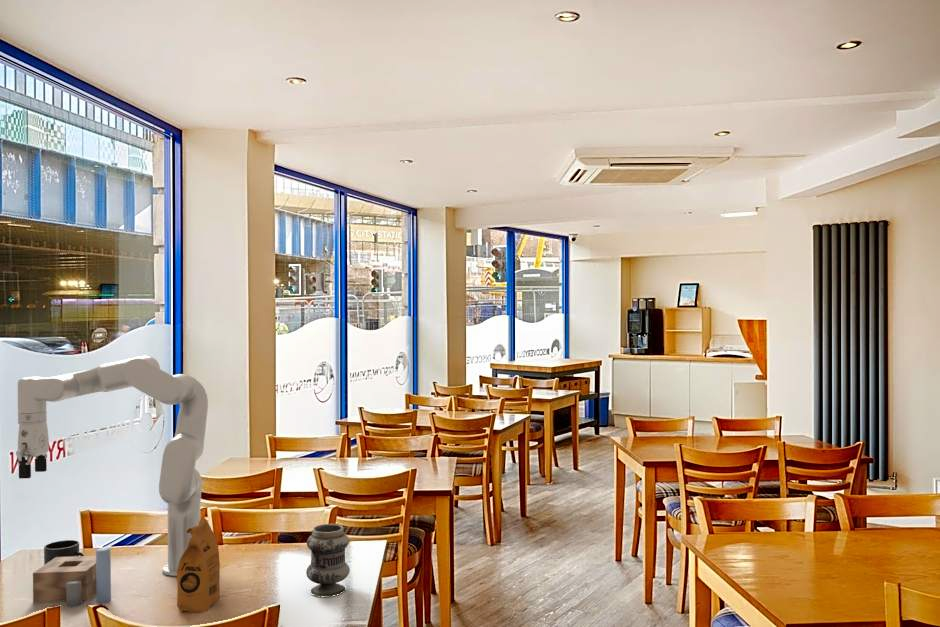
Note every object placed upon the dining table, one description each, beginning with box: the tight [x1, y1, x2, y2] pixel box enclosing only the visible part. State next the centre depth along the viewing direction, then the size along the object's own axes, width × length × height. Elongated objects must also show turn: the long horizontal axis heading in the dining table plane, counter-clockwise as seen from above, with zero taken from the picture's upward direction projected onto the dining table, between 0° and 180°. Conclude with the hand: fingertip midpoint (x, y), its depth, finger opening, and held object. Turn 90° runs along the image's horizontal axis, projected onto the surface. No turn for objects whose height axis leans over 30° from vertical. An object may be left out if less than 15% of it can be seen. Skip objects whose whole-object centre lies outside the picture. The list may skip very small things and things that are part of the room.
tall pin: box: [95, 547, 112, 604], centre depth 211 cm, size 4×4×14 cm
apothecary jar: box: [306, 523, 351, 598], centre depth 216 cm, size 12×12×18 cm
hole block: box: [32, 555, 96, 603], centre depth 218 cm, size 14×14×8 cm
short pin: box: [66, 580, 83, 608], centre depth 208 cm, size 4×4×6 cm
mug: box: [43, 539, 85, 566], centre depth 233 cm, size 9×12×9 cm
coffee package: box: [176, 517, 221, 613], centre depth 207 cm, size 10×12×22 cm
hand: (33, 474), depth 232 cm, fingers open, 9 cm apart
